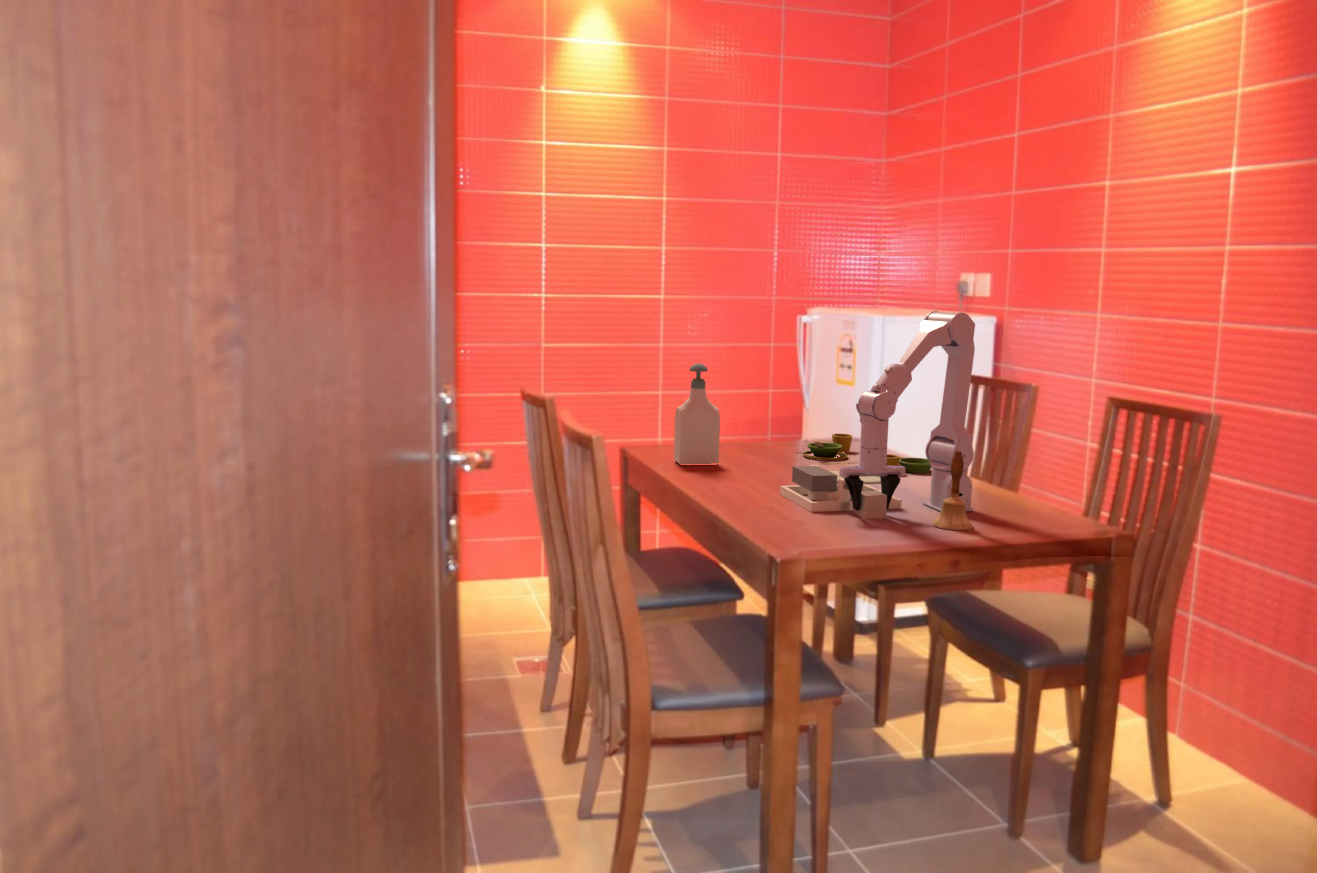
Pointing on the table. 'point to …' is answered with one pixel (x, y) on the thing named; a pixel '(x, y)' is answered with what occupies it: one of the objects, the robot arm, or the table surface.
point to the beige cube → (872, 505)
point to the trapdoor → (823, 478)
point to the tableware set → (843, 445)
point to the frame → (828, 497)
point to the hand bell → (954, 501)
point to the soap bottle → (697, 425)
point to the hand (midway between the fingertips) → (870, 509)
